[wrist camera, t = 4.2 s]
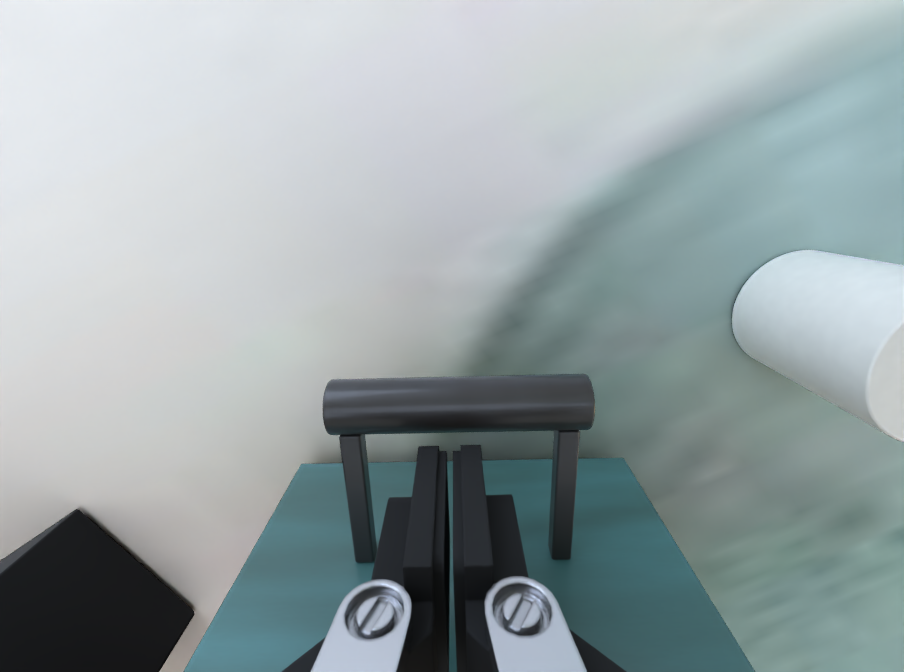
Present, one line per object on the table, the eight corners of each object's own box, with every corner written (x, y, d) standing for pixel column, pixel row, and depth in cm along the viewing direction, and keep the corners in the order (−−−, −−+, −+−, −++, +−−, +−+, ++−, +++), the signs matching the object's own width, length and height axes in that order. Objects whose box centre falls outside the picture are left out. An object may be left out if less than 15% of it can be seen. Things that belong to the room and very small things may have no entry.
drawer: (279, 329, 16) (94, 473, 8) (638, 319, 16) (833, 459, 8) (339, 698, 23) (272, 990, 15) (596, 696, 23) (678, 992, 14)
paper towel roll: (867, 247, 16) (1092, 279, 10) (836, 362, 18) (1019, 445, 12) (742, 251, 16) (897, 284, 11) (721, 365, 18) (847, 449, 12)
